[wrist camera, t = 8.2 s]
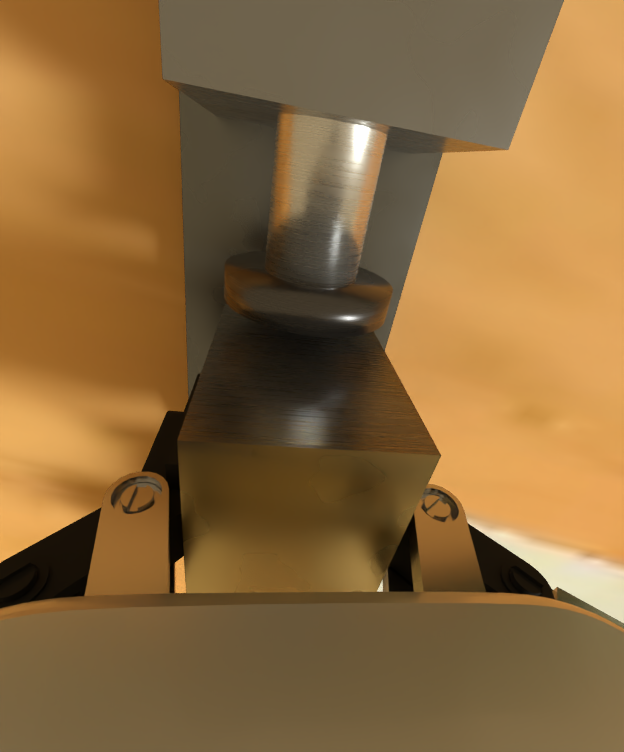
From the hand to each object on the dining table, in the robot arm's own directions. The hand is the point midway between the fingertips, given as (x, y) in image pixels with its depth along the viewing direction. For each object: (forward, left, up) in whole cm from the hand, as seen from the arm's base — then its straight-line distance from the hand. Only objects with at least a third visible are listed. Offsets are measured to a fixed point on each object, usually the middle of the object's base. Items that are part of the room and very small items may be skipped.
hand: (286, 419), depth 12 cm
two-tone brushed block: (0, 0, -1) cm, 1 cm away
